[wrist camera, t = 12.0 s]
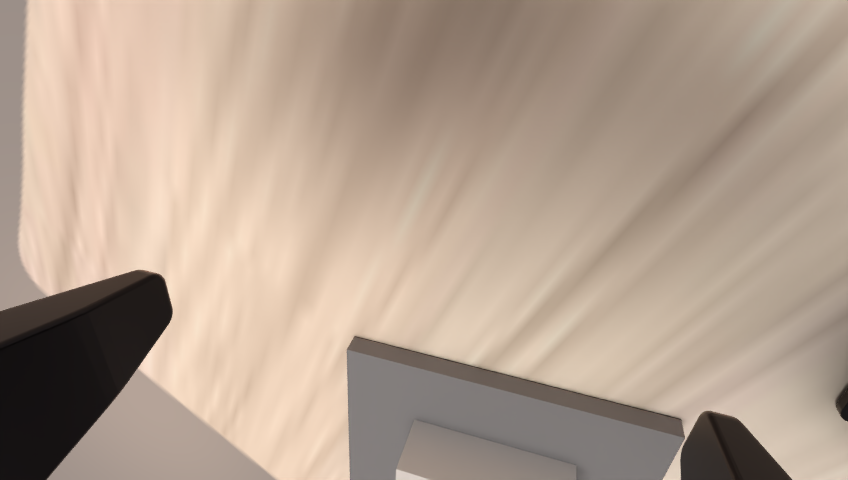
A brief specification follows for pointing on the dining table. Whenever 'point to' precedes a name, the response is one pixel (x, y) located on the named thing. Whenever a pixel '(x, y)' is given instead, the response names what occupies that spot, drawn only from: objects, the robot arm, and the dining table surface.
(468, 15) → the dining table surface
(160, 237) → the dining table surface
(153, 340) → the robot arm
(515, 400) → the socket
